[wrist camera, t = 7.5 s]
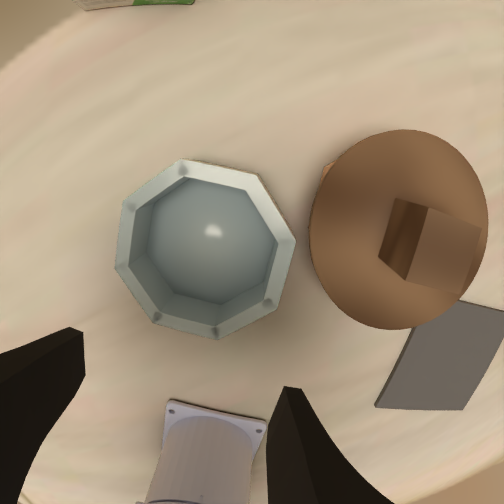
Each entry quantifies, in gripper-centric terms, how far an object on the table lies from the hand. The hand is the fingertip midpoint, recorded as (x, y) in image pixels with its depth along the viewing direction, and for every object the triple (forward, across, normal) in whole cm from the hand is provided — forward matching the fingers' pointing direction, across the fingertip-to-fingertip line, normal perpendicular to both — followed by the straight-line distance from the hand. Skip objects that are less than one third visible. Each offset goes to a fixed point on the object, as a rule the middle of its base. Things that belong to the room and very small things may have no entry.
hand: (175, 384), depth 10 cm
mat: (+10, -19, +3) cm, 22 cm away
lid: (+7, -9, -6) cm, 13 cm away
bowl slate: (+10, +1, -2) cm, 11 cm away
